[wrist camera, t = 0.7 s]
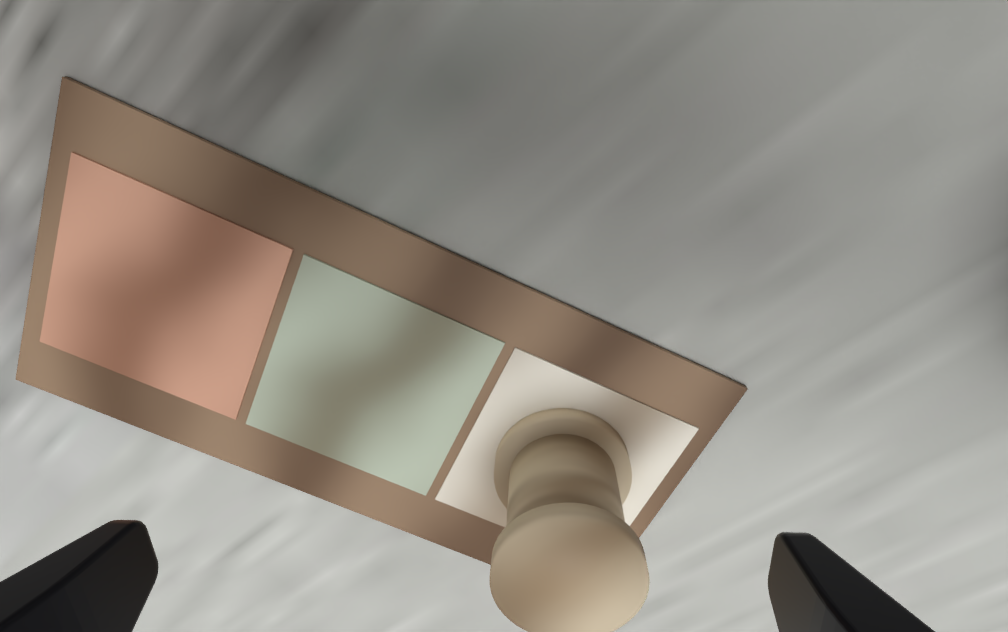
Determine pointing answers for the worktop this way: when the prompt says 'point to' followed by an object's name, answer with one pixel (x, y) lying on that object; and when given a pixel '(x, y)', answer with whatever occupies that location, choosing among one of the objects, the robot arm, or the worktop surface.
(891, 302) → the worktop surface
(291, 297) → the board
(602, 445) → the pawn
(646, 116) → the worktop surface
